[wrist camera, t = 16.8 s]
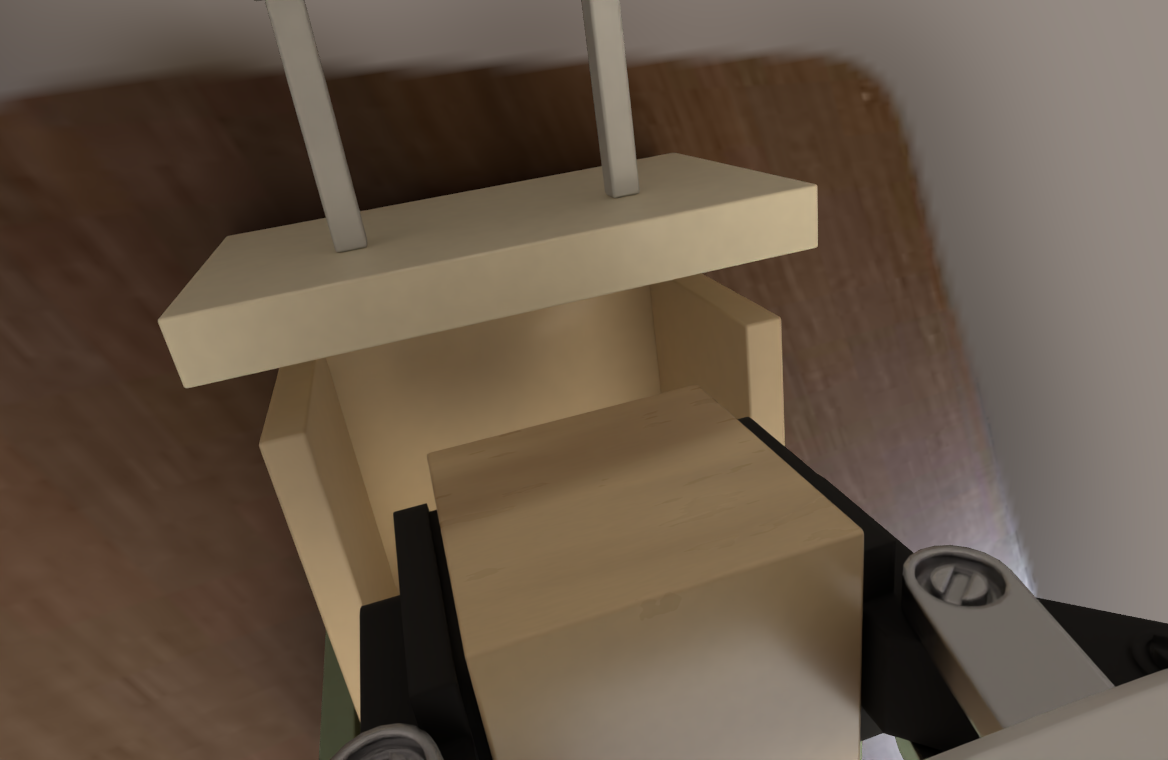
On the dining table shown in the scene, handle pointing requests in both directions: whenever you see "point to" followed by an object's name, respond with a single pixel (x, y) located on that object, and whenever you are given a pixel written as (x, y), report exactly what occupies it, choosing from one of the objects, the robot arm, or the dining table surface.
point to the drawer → (476, 316)
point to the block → (652, 589)
